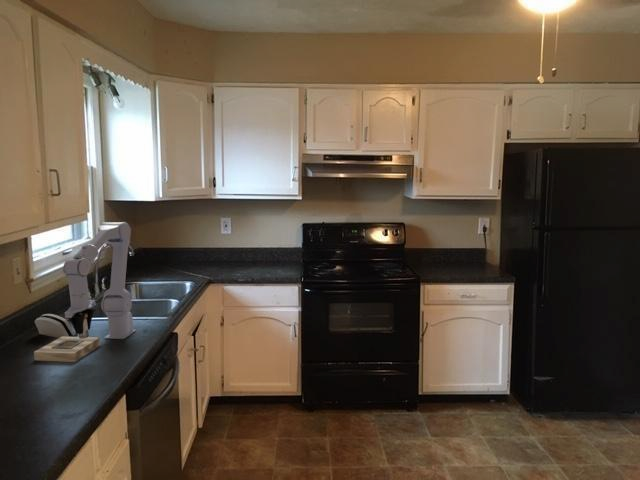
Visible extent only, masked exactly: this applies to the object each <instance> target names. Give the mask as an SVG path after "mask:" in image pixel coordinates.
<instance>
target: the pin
mask: <svg viewBox="0 0 640 480" xmlns="http://www.w3.org/2000/svg"><path fill="white" fill-rule="evenodd" d="M80 314H81V315H85V317H84V322H83V334H78V337H79V338H80V339H83V338H87V337H90V334H89V330H88V324H87V317H88V313H80Z"/></svg>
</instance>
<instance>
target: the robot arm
mask: <svg viewBox="0 0 640 480" xmlns="http://www.w3.org/2000/svg"><path fill="white" fill-rule="evenodd" d="M131 231H132V229H131V227H130V225H129V223H127V222H126V221H122V222H120V221H119V222H109V221H108V222H107V221H103V222H101V223H100V225H99V226H98V227H97V233H96V235H95V236H94V237H93V239H92V240H91V242H90V243H87V244H83V245H82V246H81V248H80V250H78V252H77V253H76V254H75V255H74V256H73V257H72V258H69V259H67V260H66V261H65V262H64V264H63V266H62V267H63V268H62V272H63V274H64V275H65V279H66V281H67V282H68V290H69V297H70V307H69V308H68V310H66V311H65V312H64V319H67V320H68V321H69V322H70V323H71V325H72V327H73V330H74V331H75V332H76V334H78V335H79V334H83V322H84V317H85V315H81V314H80V313H88V317H87V324H88V331H89V330H91V326H92V319H93V316H94V313H95V311H96V309H95V306H96V300H95V299H90V295H89V284H88V278H87V277H88V274H89V273H90V270H91V267H92V264H93V262H94V261H95V260H96V259H97V258H98V256H99V254H100V253H99V250H100V249H101V248H102V247H103V246H104V245H105V244H106V243H107V244H109V245H111V246H112V248H113V249H112V260H111V273H110V284H109V288H108V289H107V290H105V292H104V293H103V298H102V300H101V302H100V303H101V304H100V307H101V310H102V312H104V313H105V315H106V316H107V324H108V325H107V327H108V334H107V335H106V336H104V339H107V340H108V339H112V340H114V339H115V340H117V339H118V340H125V339H126V338H127V337H129V336H131V335H132V334H133V333H134V332H137V330H136V329H134V321H133V314H132V312H131V311H130V310H131V309H132V306H133V303H132V294H131V292H129V290H127V289H126V288H125V287H126V278H127V277H126V275H127V274H126V273H127V265H128V264H127V262H128V251H129V245H130V244H131V236H132V234H131Z"/></svg>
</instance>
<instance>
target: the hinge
mask: <svg viewBox="0 0 640 480" xmlns="http://www.w3.org/2000/svg"><path fill="white" fill-rule="evenodd" d="M34 324H35V326H36V329H37V331H38V334H39V335H44V336H48V337H52V338H53V337H54V338H57V339H59V338H60V337H79V334H76V332H75V330H74V328H72V326H71V325H70V323H69V320H68V319H67V318H65V317H62V316H61V315H57V314H53V313H45V314H42V315H40V316H39V317H36V319H35V320H34Z"/></svg>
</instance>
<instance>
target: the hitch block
mask: <svg viewBox="0 0 640 480" xmlns="http://www.w3.org/2000/svg"><path fill="white" fill-rule="evenodd" d="M99 347H101V338H100V337H94V336H93V337H91V336H89V337H87V338H83V339H80V338H79V336H70V337H60V338H57V339H55V340H53V341H51V342H50V343H47V344H46V345H44V346H43V347H40V348H39V349H37V350H34V352H33V355H34V356H33V357H34V361H40V362H41V361H45V362H46V361H47V362H71V363H74V362H77V361H79V360H81V359H82V358H83V357H86V356H87V355H88V354H89V353H91V352H93V351H95V349H97V348H99Z"/></svg>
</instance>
